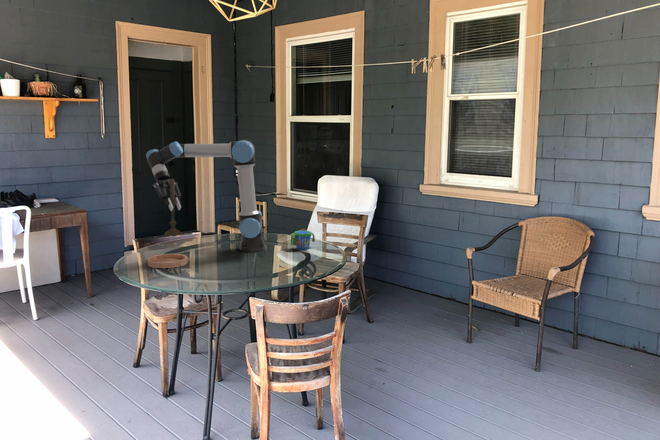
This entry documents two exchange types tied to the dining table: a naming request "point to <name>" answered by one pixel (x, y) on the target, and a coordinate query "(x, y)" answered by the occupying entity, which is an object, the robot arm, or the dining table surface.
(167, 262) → the saucer
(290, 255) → the dining table surface
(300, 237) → the snack cup
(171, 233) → the candlestick holder
